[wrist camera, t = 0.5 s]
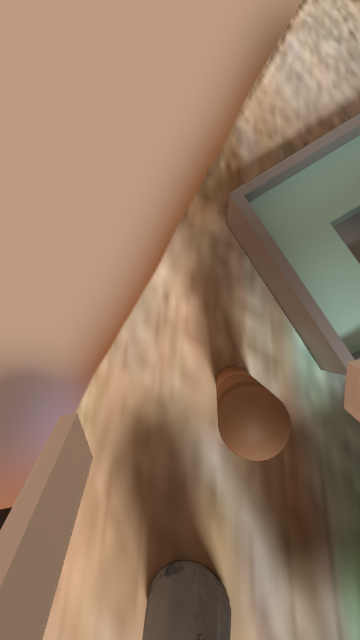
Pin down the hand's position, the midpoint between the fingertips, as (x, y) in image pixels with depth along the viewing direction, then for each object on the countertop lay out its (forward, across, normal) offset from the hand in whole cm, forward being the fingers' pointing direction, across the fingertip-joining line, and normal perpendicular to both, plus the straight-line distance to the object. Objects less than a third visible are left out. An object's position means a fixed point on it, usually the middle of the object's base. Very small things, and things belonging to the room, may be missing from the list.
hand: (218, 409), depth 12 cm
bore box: (+17, -20, -4) cm, 26 cm away
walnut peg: (+14, -4, +9) cm, 17 cm away
